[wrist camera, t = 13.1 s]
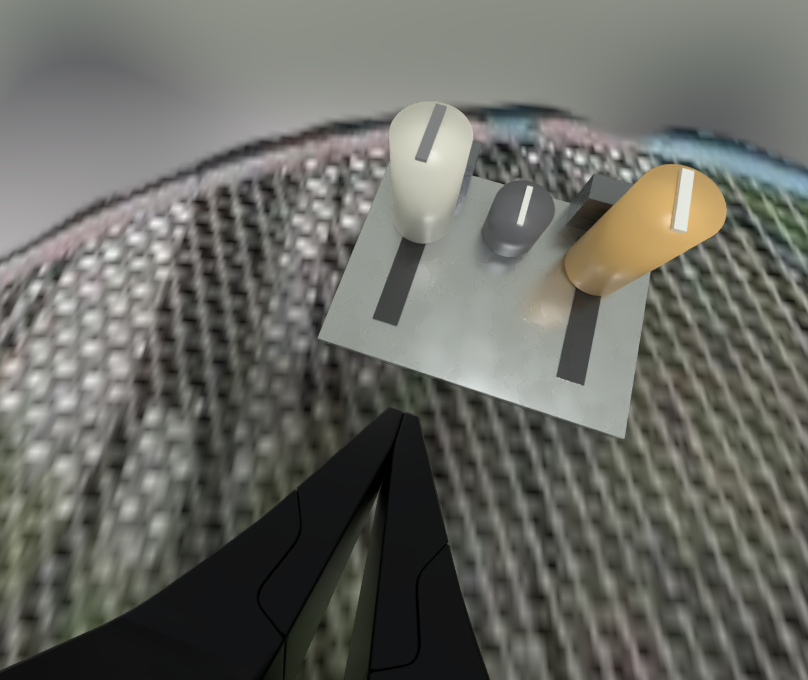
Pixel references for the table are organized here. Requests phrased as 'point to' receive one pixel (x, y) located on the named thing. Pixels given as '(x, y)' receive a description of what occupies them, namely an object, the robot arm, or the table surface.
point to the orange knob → (646, 229)
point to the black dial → (517, 218)
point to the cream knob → (427, 168)
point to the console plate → (495, 309)
